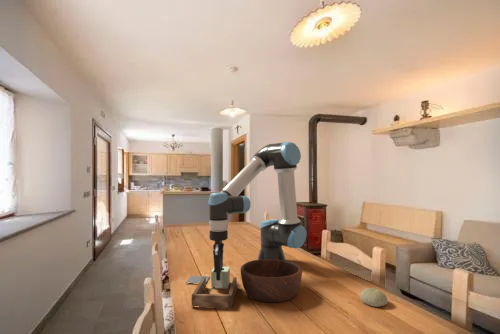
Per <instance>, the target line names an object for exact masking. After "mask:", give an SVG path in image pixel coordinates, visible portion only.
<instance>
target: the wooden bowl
mask: <svg viewBox="0 0 500 334" xmlns="http://www.w3.org/2000/svg"><path fill="white" fill-rule="evenodd" d="M302 277H303V268H302V267H301V266H300V265H299V264H298V263H296V262H293V261H290V260H286V259H285V260H280V259H259V260H258V259H255V260H251V261H247V262H245V263H243V264H242V265H241V266H240V278H241V282H242V286H243V289H244V292H246V294H247V296H249V297H250V298H252V299H253V300H255V301H259V302H262V303H263V302H264V303H282V302H287V301H290V300H291V299H293V298H294V297H296V295H297V293H298V292H299V290H300V287H301V282H302Z"/></svg>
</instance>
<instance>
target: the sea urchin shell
mask: <svg viewBox="0 0 500 334" xmlns="http://www.w3.org/2000/svg"><path fill="white" fill-rule="evenodd" d="M359 297H360V300H361V302H362V303H363V304H364V305H366V306H367V305H368V306H370V307H377V308H378V307H379V308H381V307H384V306H386V305H387V304H388V302H389V299H388V297H387V296H386V294H385V293H384V292H383V291H381V290H380V289H377V288H372V287H367V288H364V289H363V290H361V293H360V296H359Z"/></svg>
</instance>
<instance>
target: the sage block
mask: <svg viewBox="0 0 500 334" xmlns="http://www.w3.org/2000/svg"><path fill="white" fill-rule="evenodd" d="M230 267H231V266H223V267H222V268H224V270H222V288H221V289H228V288H229V286H230V283H231V282H230V281H231V279H230V276H231V275H230V274H231V269H230ZM213 271H214V267H212V270H211V271H210V273H211V275H210V278H211V283H210V284H211V287H215V272H213Z"/></svg>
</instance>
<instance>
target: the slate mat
mask: <svg viewBox="0 0 500 334" xmlns="http://www.w3.org/2000/svg"><path fill="white" fill-rule="evenodd" d="M203 277H206V282H207V283H208V281H209V280H210V278H211V275H209V276H208V275H190V277H189V278H188V279H187V280H186V282H185V284H186V283H188V282H190V283H200V281H201V279H202V278H203ZM209 277H210V278H209ZM208 279H209V280H208Z"/></svg>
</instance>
